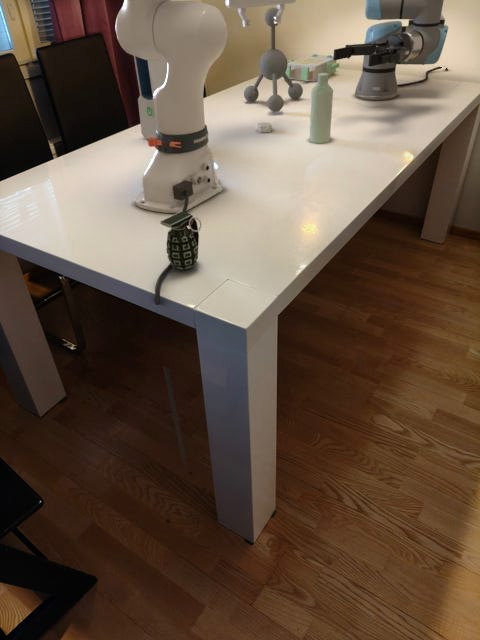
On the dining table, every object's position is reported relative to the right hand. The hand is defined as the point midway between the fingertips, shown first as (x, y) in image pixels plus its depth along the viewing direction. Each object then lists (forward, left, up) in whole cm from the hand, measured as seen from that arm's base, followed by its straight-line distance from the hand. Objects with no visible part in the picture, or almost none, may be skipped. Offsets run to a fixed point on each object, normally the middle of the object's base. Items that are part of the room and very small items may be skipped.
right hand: (351, 57), depth 137 cm
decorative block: (-68, -41, -20) cm, 82 cm away
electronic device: (+26, -50, -20) cm, 60 cm away
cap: (+7, -24, -19) cm, 31 cm away
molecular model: (-22, -34, -20) cm, 45 cm away
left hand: (+8, -24, +8) cm, 27 cm away
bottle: (+10, -4, -20) cm, 23 cm away
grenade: (+86, 0, -20) cm, 89 cm away
